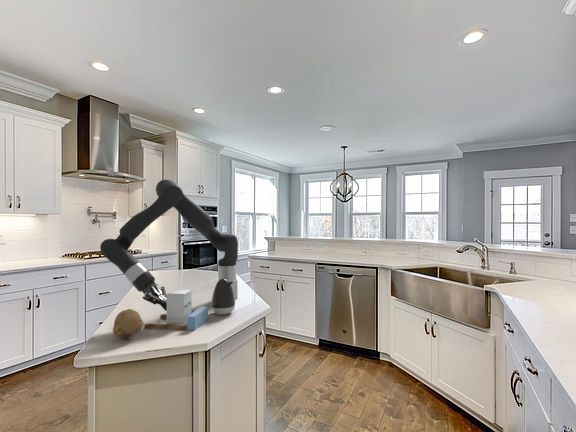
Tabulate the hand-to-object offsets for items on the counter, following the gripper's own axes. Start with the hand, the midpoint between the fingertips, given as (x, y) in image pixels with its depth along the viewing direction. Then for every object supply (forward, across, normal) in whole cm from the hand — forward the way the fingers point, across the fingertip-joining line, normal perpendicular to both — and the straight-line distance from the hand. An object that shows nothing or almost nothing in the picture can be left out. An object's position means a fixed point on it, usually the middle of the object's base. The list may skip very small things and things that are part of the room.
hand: (168, 308), depth 121 cm
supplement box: (+7, -1, -1) cm, 7 cm away
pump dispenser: (+17, -15, +8) cm, 24 cm away
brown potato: (0, +16, -9) cm, 18 cm away
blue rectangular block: (+13, 0, +4) cm, 13 cm away
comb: (+6, 0, -3) cm, 6 cm away
